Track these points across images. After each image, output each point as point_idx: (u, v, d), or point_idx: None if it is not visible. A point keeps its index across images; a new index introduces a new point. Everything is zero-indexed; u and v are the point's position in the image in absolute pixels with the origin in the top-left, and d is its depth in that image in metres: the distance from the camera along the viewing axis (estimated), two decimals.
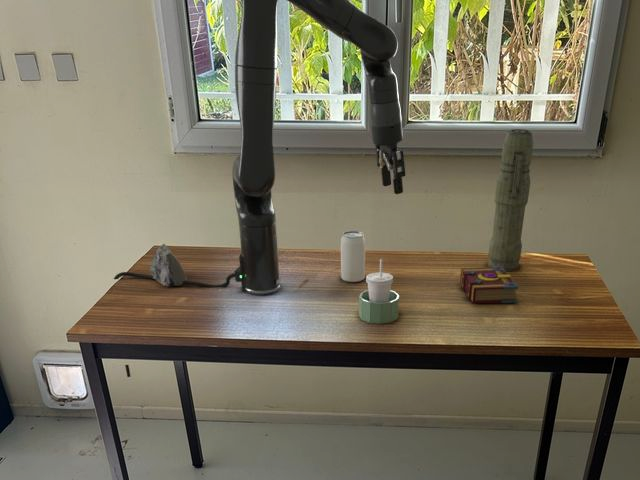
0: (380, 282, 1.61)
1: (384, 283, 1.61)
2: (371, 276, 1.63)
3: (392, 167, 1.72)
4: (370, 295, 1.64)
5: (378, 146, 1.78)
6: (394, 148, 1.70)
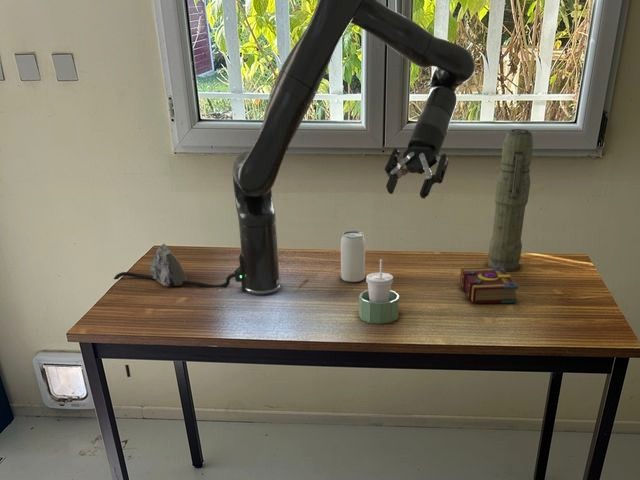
0: (380, 282, 1.61)
1: (384, 283, 1.61)
2: (371, 276, 1.63)
3: (429, 169, 1.60)
4: (370, 295, 1.64)
5: (397, 153, 1.64)
6: (436, 155, 1.61)
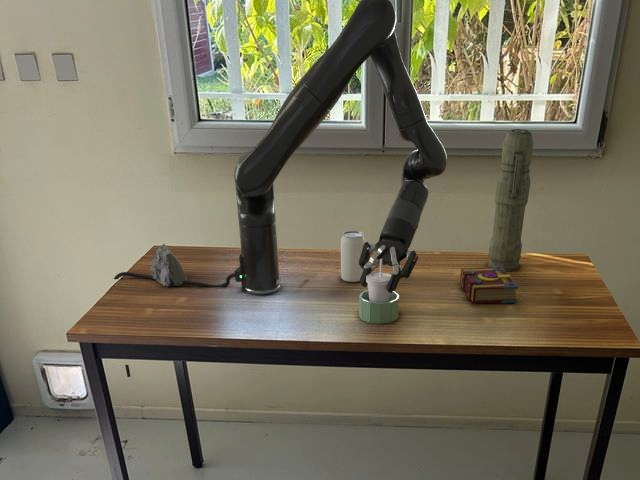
0: (380, 282, 1.61)
1: (384, 283, 1.61)
2: (371, 276, 1.63)
3: (398, 264, 1.61)
4: (370, 295, 1.64)
5: (368, 246, 1.66)
6: (407, 249, 1.63)
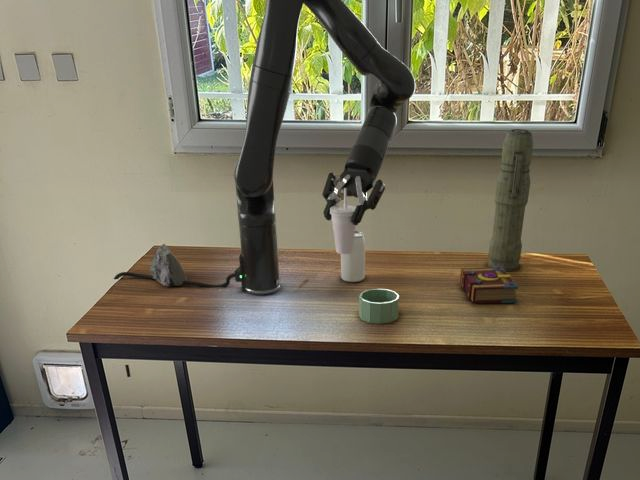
0: (344, 213, 1.51)
1: (348, 214, 1.51)
2: (335, 208, 1.54)
3: (363, 194, 1.52)
4: (334, 228, 1.55)
5: (333, 176, 1.56)
6: (373, 179, 1.53)
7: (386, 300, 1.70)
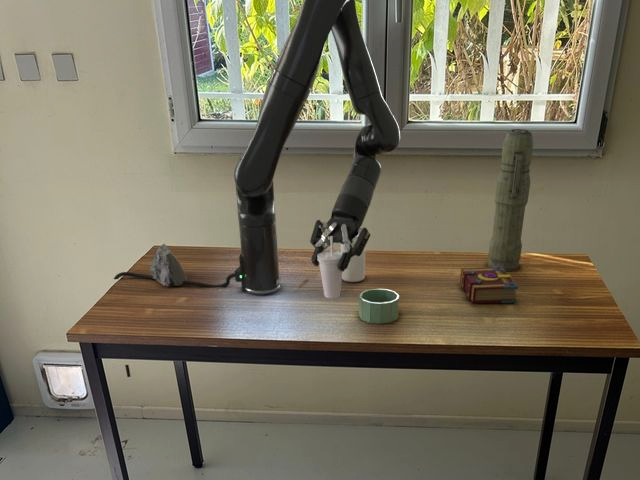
0: (331, 260, 1.57)
1: (335, 261, 1.57)
2: (322, 254, 1.59)
3: (349, 241, 1.58)
4: (322, 274, 1.60)
5: (320, 223, 1.62)
6: (358, 226, 1.59)
7: (386, 300, 1.70)
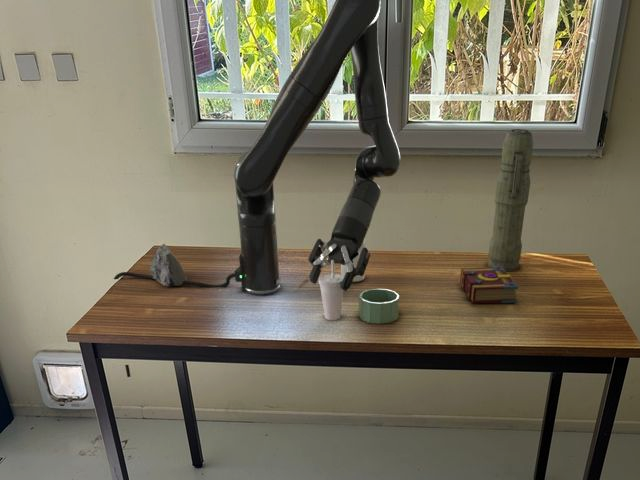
0: (332, 283, 1.60)
1: (336, 284, 1.60)
2: (323, 277, 1.63)
3: (351, 262, 1.60)
4: (323, 296, 1.64)
5: (321, 243, 1.65)
6: (358, 248, 1.62)
7: (386, 300, 1.70)
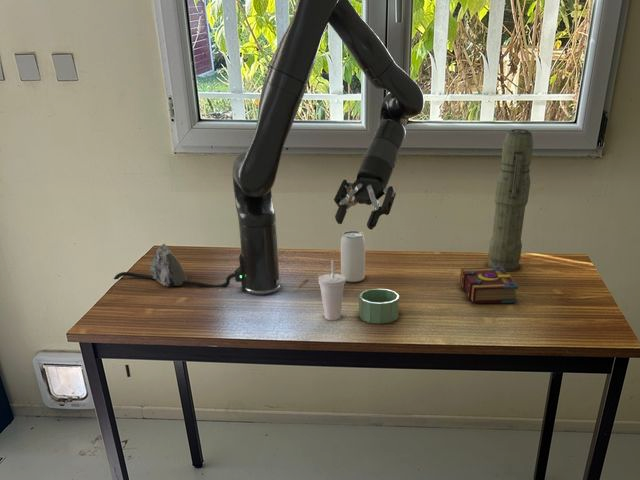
0: (332, 283, 1.60)
1: (336, 284, 1.60)
2: (323, 277, 1.63)
3: (376, 200, 1.62)
4: (323, 296, 1.64)
5: (346, 183, 1.67)
6: (383, 187, 1.64)
7: (386, 300, 1.70)
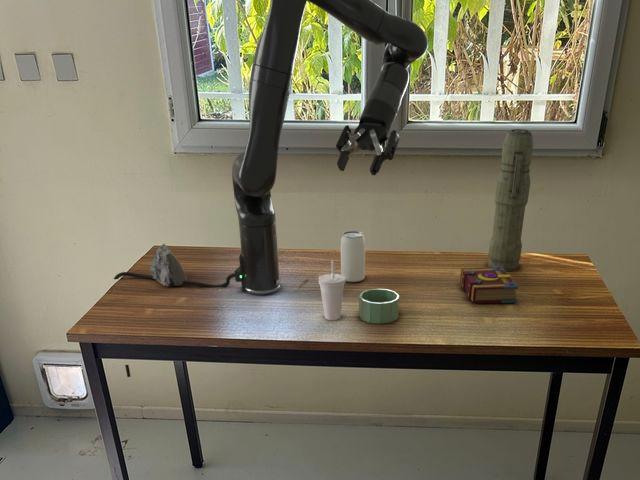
0: (332, 283, 1.60)
1: (336, 284, 1.60)
2: (323, 277, 1.63)
3: (380, 145, 1.58)
4: (323, 296, 1.64)
5: (349, 129, 1.62)
6: None
7: (386, 300, 1.70)
